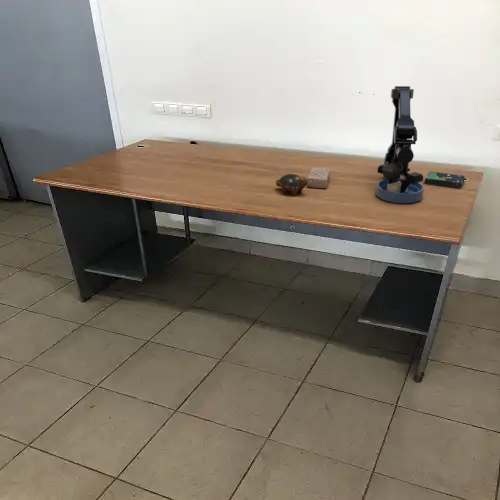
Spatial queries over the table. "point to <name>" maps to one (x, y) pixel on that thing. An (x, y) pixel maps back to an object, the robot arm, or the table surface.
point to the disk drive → (444, 179)
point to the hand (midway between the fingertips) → (397, 193)
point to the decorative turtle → (292, 183)
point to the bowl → (402, 198)
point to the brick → (318, 177)
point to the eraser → (395, 187)
